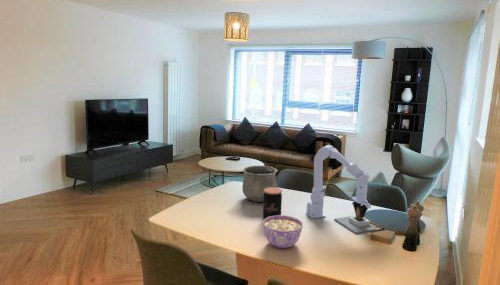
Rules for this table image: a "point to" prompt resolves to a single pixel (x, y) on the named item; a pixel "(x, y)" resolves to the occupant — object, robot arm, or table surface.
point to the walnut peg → (358, 214)
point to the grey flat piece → (356, 224)
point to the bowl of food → (282, 230)
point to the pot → (258, 181)
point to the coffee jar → (272, 202)
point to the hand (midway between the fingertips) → (359, 215)
